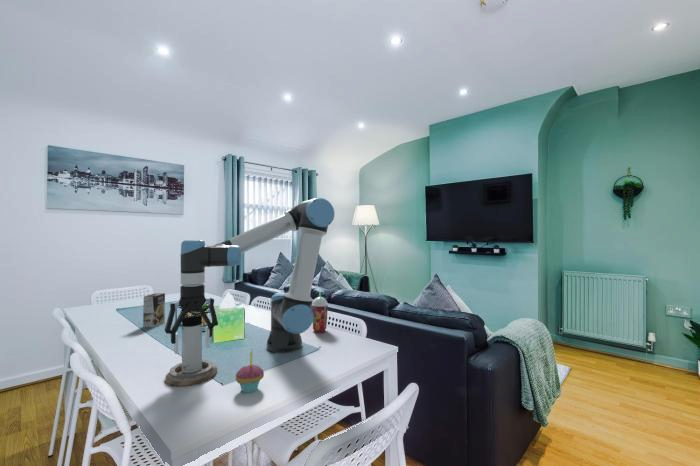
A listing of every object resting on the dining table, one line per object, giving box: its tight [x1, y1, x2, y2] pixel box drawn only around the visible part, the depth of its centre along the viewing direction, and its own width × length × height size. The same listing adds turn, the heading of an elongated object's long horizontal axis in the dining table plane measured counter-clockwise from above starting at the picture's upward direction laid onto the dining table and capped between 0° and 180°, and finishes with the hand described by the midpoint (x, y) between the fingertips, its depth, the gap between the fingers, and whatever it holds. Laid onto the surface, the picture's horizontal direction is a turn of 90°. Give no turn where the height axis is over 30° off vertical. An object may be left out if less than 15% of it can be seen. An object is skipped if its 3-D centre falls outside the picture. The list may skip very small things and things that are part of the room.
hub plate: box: [164, 359, 218, 387], centre depth 111 cm, size 16×16×3 cm
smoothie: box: [311, 291, 329, 334], centre depth 162 cm, size 8×8×20 cm
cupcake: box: [235, 348, 265, 394], centre depth 101 cm, size 9×8×12 cm
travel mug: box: [181, 314, 203, 374], centre depth 111 cm, size 6×7×20 cm
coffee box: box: [142, 292, 166, 328], centre depth 170 cm, size 9×6×16 cm
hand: (192, 349), depth 111 cm, fingers open, 9 cm apart
